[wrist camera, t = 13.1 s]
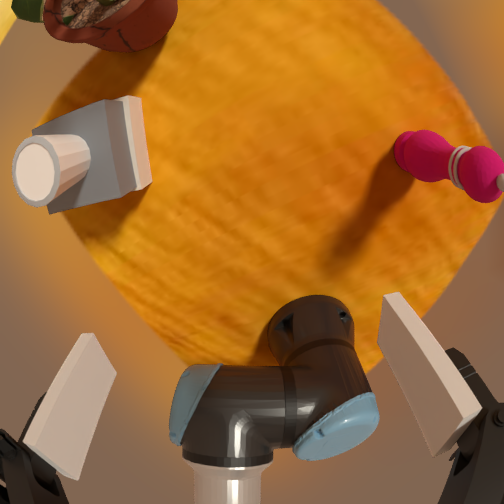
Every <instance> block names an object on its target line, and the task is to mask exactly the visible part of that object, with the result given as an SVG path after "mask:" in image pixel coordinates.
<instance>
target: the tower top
mask: <svg viewBox="0 0 504 504" xmlns="http://www.w3.org/2000/svg"><path fill="white" fill-rule="evenodd" d="M64 134H72V135H77V136H80V137H81V138H82V139H83V140H85V142H86V143H87V145H88V147H89V149H90V156H91V161H90V167H89V170H88V172H87V173H86V175H85V177H84V178H82V179H81V180H80V181H79V182H77V183H76V184H74V185H73V186H71V187H70V188H69V189H67V190H66V191H64V192H63V193H62V194H60V195H59V196H58V197H56V198H55V199H54V200H52V201H51V202H50V203H48V204H47V207H48V211H49V214H53V213H57V212H61V211H65V210H69V209H73V208H77V207H81V206H85V205H89V204H94V203H98V202H102V201H107V200H111V199H116V198H121V197H123V196H124V195H126V194H127V193H129V192H130V191H131V190H133V189H134V188H136V187H137V184H136V179H135V174H134V169H133V164H132V159H131V153H130V147H129V141H128V135H127V129H126V122H125V115H124V107H123V101H117V100H108V99H103V100H101V101H98V102H95V103H92V104H90V105H87V106H84V107H82V108H79V109H77V110H74V111H72V112H69V113H67V114H65V115H62V116H60V117H58V118H56V119H54V120H51V121H49V122H47V123H45V124H43V125H41V126H39V127H37V128H35V129H33V130H32V136H35V135H64Z"/></svg>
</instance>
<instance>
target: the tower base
mask: <svg viewBox="0 0 504 504" xmlns="http://www.w3.org/2000/svg"><path fill="white" fill-rule="evenodd" d="M114 100H117V101H123V107H124V115H125V122H126V129H127V135H128V141H129V147H130V153H131V159H132V164H133V169H134V174H135V179H136V184H137V187H136V188H134V189H133V190H131V191H136V190H142V189H143V188H144V187H146V186H147V185H149V184H150V183H152V176H151V170H150V164H149V158H148V151H147V144H146V137H145V129H144V121H143V113H142V104H141V98H139V97H134V96H129V95H128V96H124V97H121V98H117V99H114Z"/></svg>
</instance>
